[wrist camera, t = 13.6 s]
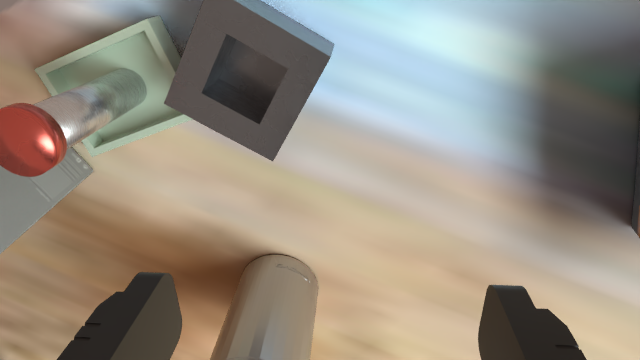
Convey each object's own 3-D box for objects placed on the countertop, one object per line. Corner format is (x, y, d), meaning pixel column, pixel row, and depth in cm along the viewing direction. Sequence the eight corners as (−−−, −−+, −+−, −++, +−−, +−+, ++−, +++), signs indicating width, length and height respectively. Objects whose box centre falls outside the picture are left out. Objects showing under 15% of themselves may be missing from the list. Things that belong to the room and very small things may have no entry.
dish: (105, 147, 43) (91, 156, 41) (52, 63, 40) (34, 69, 37) (207, 109, 41) (198, 117, 38) (159, 15, 37) (147, 18, 35)
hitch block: (283, 136, 41) (272, 161, 36) (189, 85, 40) (163, 103, 34) (334, 44, 37) (330, 56, 32) (231, -17, 35) (209, -15, 30)
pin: (143, 119, 41) (45, 188, 28) (98, 96, 40) (-24, 156, 27) (158, 78, 39) (60, 132, 26) (111, 53, 38) (-14, 95, 25)
